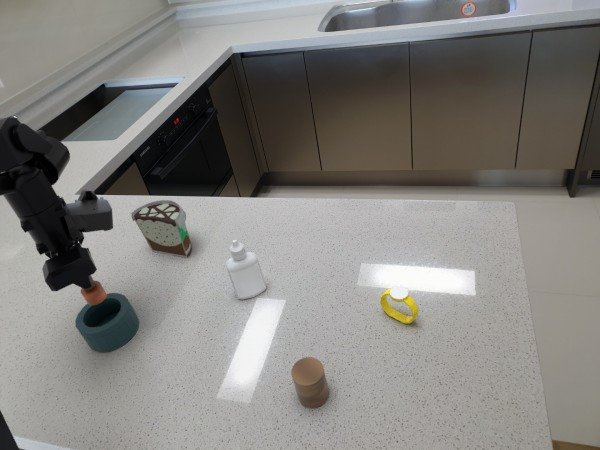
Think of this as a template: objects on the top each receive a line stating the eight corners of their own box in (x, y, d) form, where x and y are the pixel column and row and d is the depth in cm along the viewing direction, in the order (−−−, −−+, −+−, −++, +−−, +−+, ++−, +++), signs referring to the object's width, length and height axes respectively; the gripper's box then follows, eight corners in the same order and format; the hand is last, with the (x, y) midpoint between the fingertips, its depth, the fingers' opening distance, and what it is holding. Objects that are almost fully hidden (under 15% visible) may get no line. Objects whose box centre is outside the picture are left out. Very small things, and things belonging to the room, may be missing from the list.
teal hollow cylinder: (99, 361, 76) (86, 342, 73) (81, 333, 82) (68, 315, 79) (147, 328, 80) (136, 309, 77) (126, 304, 86) (115, 285, 83)
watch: (378, 315, 74) (375, 290, 70) (387, 304, 75) (385, 278, 72) (412, 331, 70) (411, 305, 67) (421, 319, 72) (420, 293, 68)
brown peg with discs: (91, 308, 74) (69, 275, 69) (84, 299, 76) (62, 266, 71) (109, 297, 75) (89, 263, 71) (102, 288, 77) (82, 255, 73)
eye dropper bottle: (263, 300, 81) (247, 249, 74) (233, 300, 82) (214, 250, 75) (268, 282, 84) (253, 232, 77) (239, 282, 86) (222, 233, 78)
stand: (312, 414, 62) (306, 391, 59) (291, 394, 65) (284, 372, 62) (335, 392, 64) (330, 369, 61) (314, 374, 67) (308, 351, 64)
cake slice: (209, 239, 98) (195, 201, 92) (193, 259, 94) (177, 220, 88) (164, 232, 103) (147, 195, 97) (147, 250, 99) (128, 212, 93)
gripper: (107, 208, 60) (151, 291, 69) (82, 159, 74) (121, 234, 83) (19, 246, 56) (77, 329, 66) (9, 187, 70) (59, 263, 79)
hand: (87, 283), depth 74 cm, fingers closed on brown peg with discs, 2 cm apart
